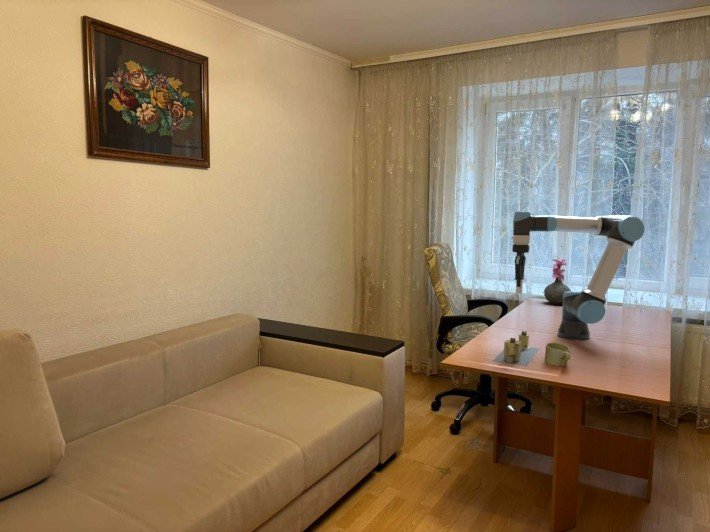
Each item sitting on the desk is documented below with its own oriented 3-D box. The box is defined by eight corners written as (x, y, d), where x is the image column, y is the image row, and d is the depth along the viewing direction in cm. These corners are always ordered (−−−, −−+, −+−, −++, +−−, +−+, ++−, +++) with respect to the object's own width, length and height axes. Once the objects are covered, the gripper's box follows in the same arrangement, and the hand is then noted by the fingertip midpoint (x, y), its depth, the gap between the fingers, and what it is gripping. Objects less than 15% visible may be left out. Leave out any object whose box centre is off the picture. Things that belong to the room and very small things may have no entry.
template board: (540, 349, 242) (540, 347, 242) (526, 367, 215) (526, 365, 215) (509, 345, 249) (509, 343, 248) (492, 362, 222) (492, 360, 222)
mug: (536, 356, 225) (546, 336, 222) (557, 362, 226) (567, 343, 223) (546, 370, 213) (557, 349, 210) (569, 377, 215) (580, 356, 212)
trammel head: (520, 359, 224) (521, 338, 222) (518, 361, 220) (519, 340, 219) (506, 356, 226) (507, 336, 225) (503, 359, 223) (504, 338, 221)
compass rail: (528, 347, 243) (529, 331, 242) (514, 364, 218) (514, 346, 217) (519, 346, 245) (520, 330, 244) (504, 362, 220) (505, 345, 219)
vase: (546, 305, 344) (548, 260, 340) (541, 301, 361) (543, 257, 357) (573, 306, 341) (575, 261, 337) (567, 301, 358) (569, 258, 354)
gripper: (515, 242, 255) (514, 290, 257) (509, 244, 243) (507, 294, 246) (531, 243, 251) (529, 291, 254) (526, 245, 240) (524, 296, 242)
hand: (518, 293), depth 250 cm, fingers closed
